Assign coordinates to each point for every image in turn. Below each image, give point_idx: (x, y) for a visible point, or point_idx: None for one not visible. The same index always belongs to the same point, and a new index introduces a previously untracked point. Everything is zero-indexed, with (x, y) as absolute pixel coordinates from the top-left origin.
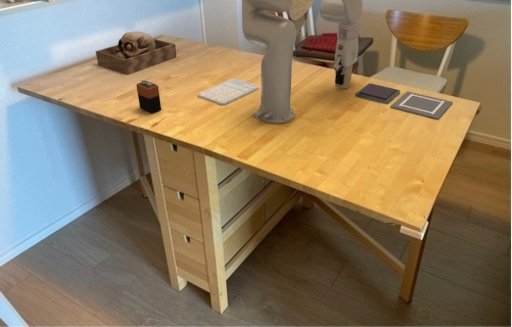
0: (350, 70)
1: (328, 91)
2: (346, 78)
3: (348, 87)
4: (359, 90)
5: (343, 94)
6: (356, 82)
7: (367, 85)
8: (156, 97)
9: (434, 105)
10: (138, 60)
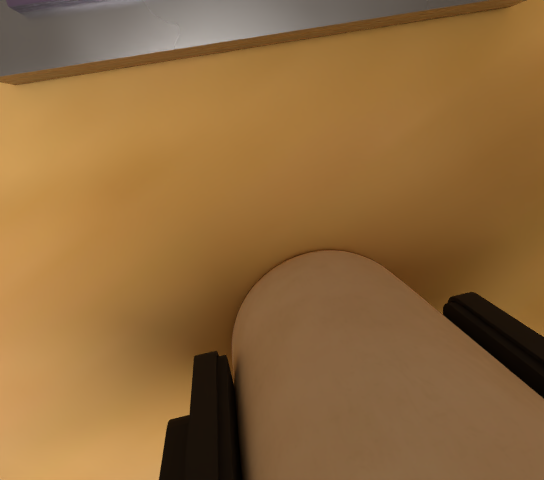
0: (501, 442)
1: (540, 329)
2: (458, 331)
3: (328, 251)
4: (418, 3)
5: (530, 164)
6: (67, 307)
7: (122, 31)
8: None
9: None
10: None
